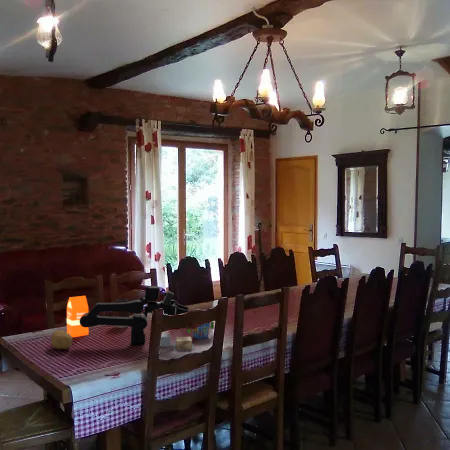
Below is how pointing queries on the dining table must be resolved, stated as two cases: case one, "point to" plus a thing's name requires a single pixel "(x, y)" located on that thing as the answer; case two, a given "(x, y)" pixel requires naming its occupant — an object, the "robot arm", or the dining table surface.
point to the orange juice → (76, 316)
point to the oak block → (183, 343)
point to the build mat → (183, 349)
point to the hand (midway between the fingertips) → (189, 310)
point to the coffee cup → (121, 312)
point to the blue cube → (165, 340)
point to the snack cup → (201, 331)
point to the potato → (61, 339)
